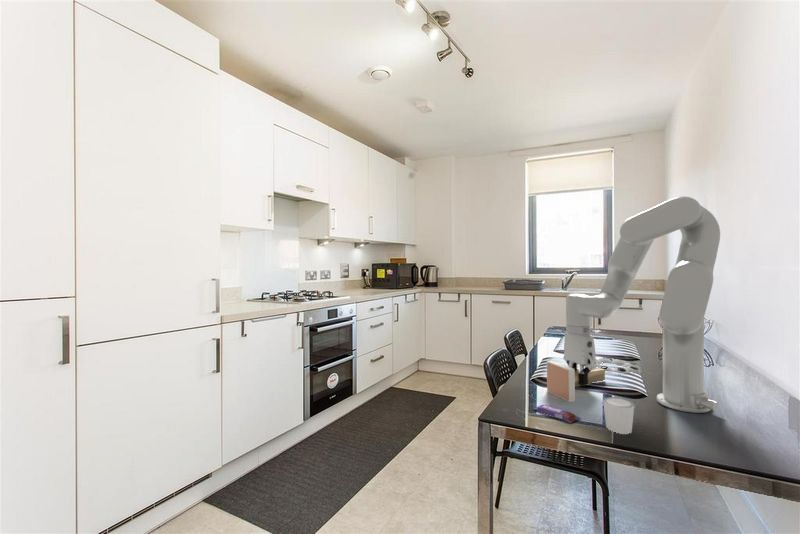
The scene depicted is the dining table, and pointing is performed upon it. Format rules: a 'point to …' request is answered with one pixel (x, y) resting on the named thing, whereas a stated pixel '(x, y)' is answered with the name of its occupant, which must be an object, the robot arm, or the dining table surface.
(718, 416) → the dining table surface
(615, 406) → the white cylinder
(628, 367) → the paint palette
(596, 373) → the tan wooden plank
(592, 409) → the dining table surface
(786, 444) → the dining table surface
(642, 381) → the dining table surface
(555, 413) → the snack package
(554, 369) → the tile
